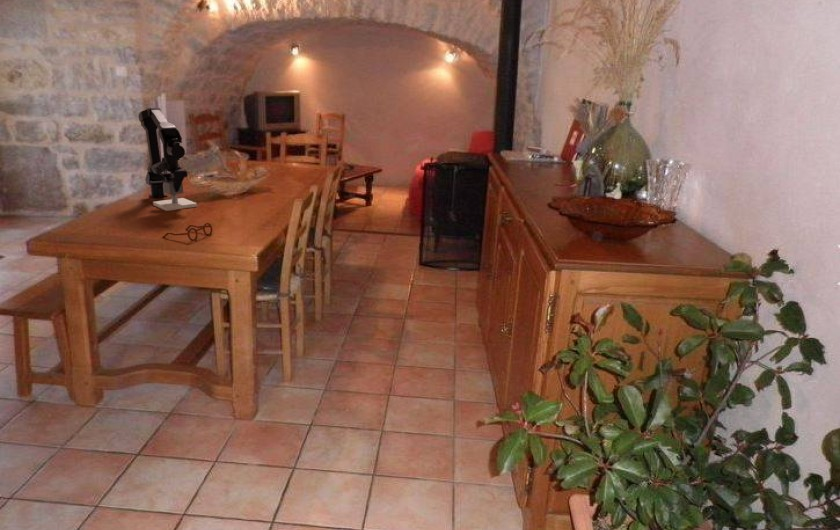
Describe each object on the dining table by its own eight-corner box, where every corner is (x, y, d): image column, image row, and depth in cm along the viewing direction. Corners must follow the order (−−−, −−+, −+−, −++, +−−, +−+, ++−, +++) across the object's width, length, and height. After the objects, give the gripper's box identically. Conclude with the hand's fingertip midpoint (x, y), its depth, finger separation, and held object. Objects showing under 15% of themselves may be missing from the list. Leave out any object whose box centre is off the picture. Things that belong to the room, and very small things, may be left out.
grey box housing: (164, 192, 283) (163, 180, 282) (177, 190, 287) (176, 179, 286) (170, 194, 279) (169, 183, 278) (183, 193, 283) (182, 181, 282)
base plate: (153, 205, 285) (151, 192, 283) (183, 201, 294) (182, 189, 293) (166, 210, 276) (165, 198, 274) (197, 206, 285) (196, 194, 283)
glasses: (190, 243, 233) (189, 229, 231) (162, 238, 237) (160, 225, 236) (213, 234, 245) (212, 222, 243) (186, 230, 249) (185, 218, 247)
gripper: (143, 154, 279) (147, 189, 284) (161, 159, 266) (164, 196, 271) (168, 152, 286) (171, 186, 291) (186, 157, 274) (189, 193, 279)
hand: (173, 190), depth 283 cm, fingers closed on grey box housing, 6 cm apart
